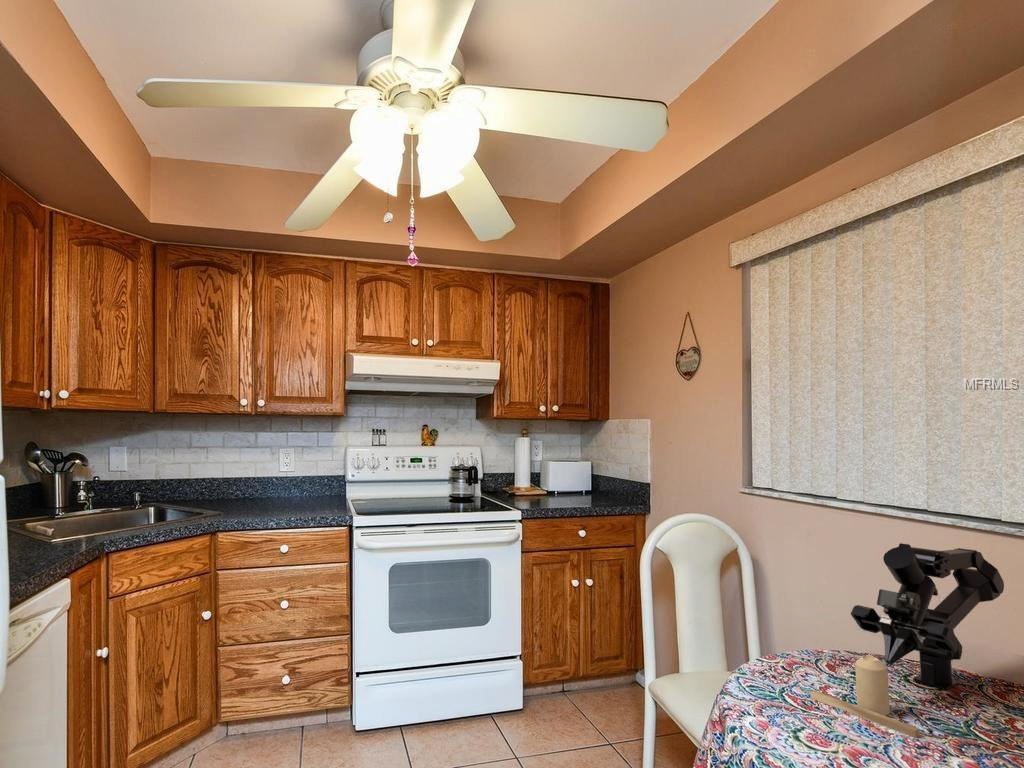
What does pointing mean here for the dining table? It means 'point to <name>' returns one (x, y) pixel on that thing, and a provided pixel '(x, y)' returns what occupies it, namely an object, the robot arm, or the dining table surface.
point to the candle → (872, 685)
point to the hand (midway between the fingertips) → (888, 663)
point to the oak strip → (866, 714)
